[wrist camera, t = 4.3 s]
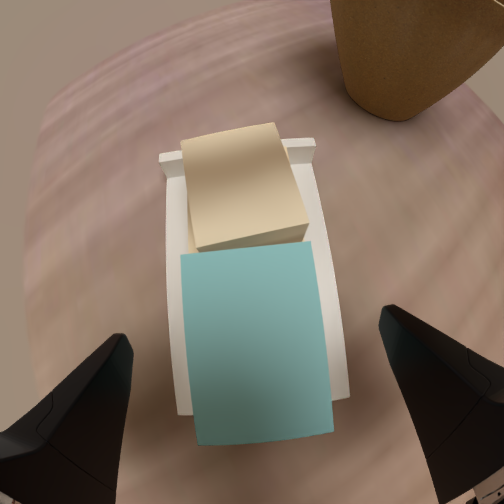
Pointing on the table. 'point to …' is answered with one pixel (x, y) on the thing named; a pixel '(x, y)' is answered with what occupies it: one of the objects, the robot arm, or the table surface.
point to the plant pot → (413, 49)
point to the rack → (316, 233)
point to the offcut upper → (242, 190)
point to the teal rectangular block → (255, 345)
